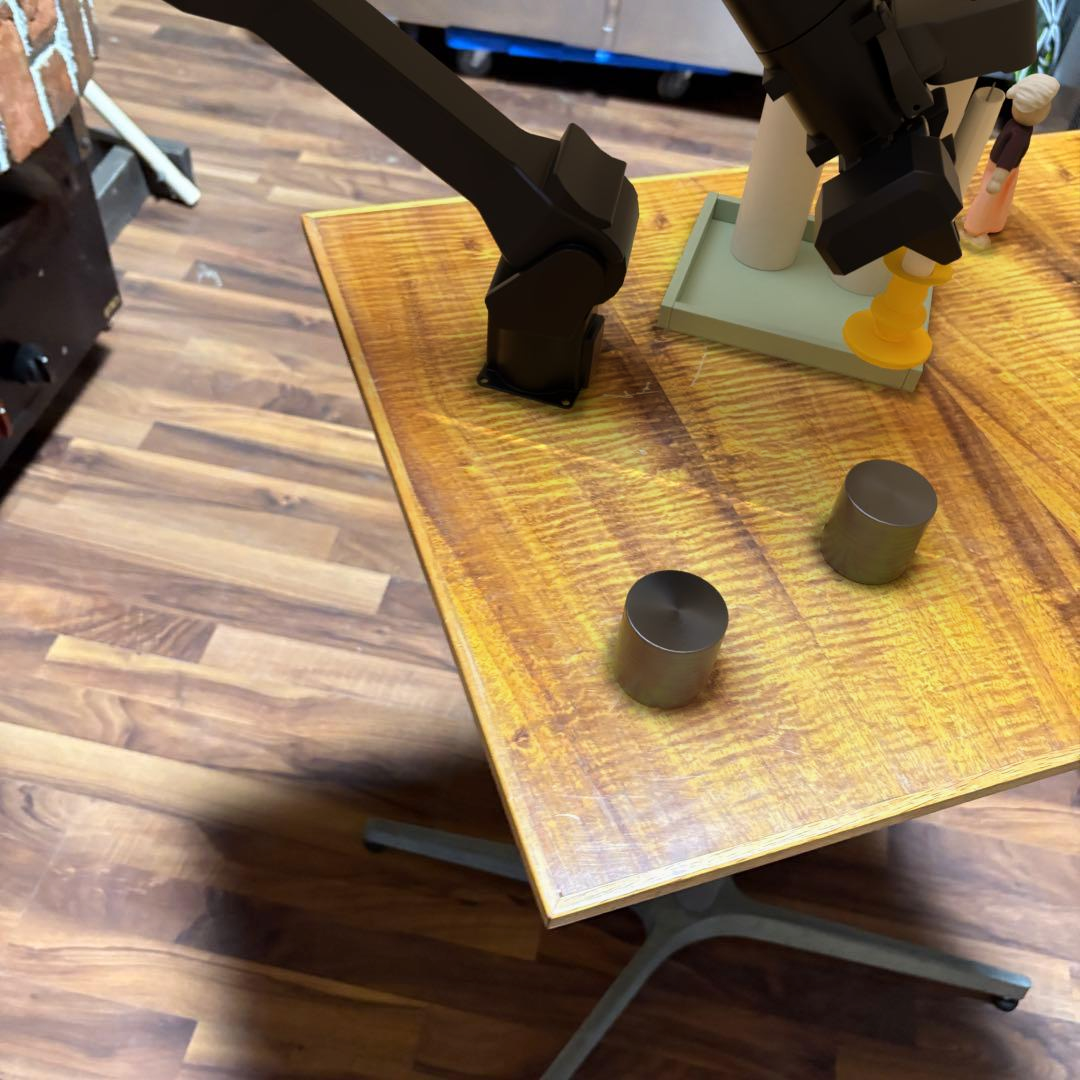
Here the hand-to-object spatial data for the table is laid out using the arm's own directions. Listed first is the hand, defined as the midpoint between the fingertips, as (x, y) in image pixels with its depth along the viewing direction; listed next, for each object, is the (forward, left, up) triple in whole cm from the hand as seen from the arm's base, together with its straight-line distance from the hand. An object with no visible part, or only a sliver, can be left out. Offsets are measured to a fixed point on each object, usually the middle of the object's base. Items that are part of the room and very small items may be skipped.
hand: (952, 252), depth 56 cm
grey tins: (-5, -16, -13) cm, 21 cm away
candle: (-1, 0, -7) cm, 7 cm away
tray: (-7, +12, -13) cm, 19 cm away
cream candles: (-7, +16, -13) cm, 22 cm away
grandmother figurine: (+5, +27, -13) cm, 31 cm away
